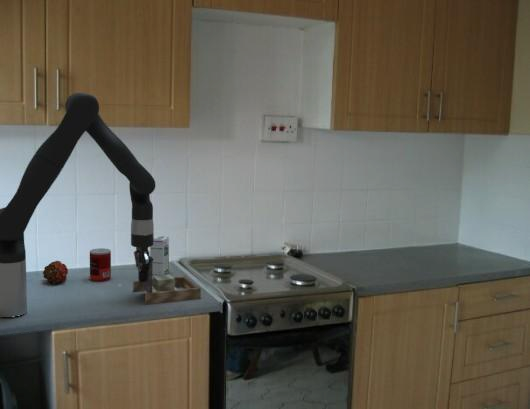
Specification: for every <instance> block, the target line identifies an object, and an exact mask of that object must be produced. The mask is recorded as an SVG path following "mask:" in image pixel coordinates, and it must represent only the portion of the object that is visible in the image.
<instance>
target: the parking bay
mask: <svg viewBox="0 0 530 409" xmlns="http://www.w3.org/2000/svg"><path fill="white" fill-rule="evenodd" d="M172 277H173V276H172ZM173 278H174V279H175V287H176V288H177V289H178V288H182V289H178V290H170V291H161V292H151V293H146V292H145V291H144V288H143V282H140V281H139V280H134V281H133V280H132V291H133V292H134V293H135V292H145V293H144V304H145V305H154V304H162V303H169V302H180V301H188V300H189V301H190V300H198V299H199V300H200V299H201V298H202V297H201V295H202V292H201V291H202V289H201V287H200V286H198V285H197V284H196V283H194V282H193V281H192V280H190V279H189V278H188V277H187V276H174V277H173ZM152 286H153V278H152Z"/></svg>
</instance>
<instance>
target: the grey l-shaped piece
mask: <svg viewBox="0 0 530 409" xmlns="http://www.w3.org/2000/svg"><path fill="white" fill-rule="evenodd" d="M148 258H151V262H150V266H149V269H148V271H146V281H145V282H143V288H144V291H143V292H145V293H151V292H161V291H170V290H179V289H178V287H177V288H176V287H175V279H174V278H173V276H172V275H171V274H165V275H152V262H153V260H154V259H153V258H152V257H151V256H150V255H149V256H148ZM152 279H153V286H152Z"/></svg>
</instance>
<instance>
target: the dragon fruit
mask: <svg viewBox="0 0 530 409" xmlns="http://www.w3.org/2000/svg"><path fill="white" fill-rule="evenodd" d="M68 270H69V269H68V267H67V265H66V264H65V263H62V261H60V260H55V261H51V262H50V263H49V264H47V265H46V266H44V268H43V271H42V275H43V278H44V279H46V280H47V281H48V282H49V281H51V282H50V283H52V284H56V283H57V284H58V283H60V282H65V281H66V280H67V275H68V274H69V271H68Z"/></svg>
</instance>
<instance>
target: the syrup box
mask: <svg viewBox="0 0 530 409" xmlns="http://www.w3.org/2000/svg"><path fill="white" fill-rule="evenodd" d="M169 241H170V238H169V236H164V235H163V236H162V235H159V236H158V235H156V236H154V244H153V246H151V247H149V256H151V257H152V258H153V259H154V260H153V262H152V276H159V275H168V273H169V272H170V253H169V252H170V250H169V249H170V247H169V246H170V245H169V243H170V242H169Z"/></svg>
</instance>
